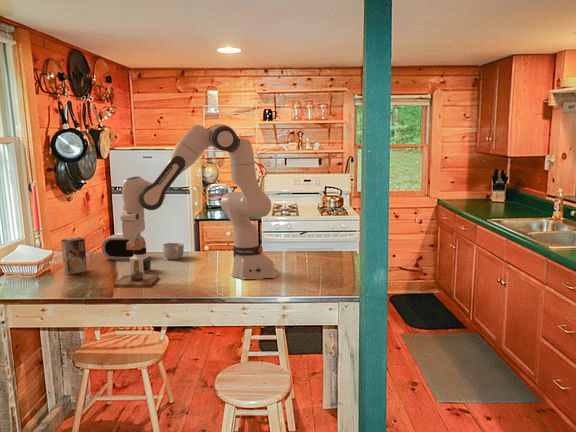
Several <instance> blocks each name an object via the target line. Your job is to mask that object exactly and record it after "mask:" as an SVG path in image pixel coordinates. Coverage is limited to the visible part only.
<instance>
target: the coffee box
mask: <svg viewBox="0 0 576 432" xmlns="http://www.w3.org/2000/svg"><path fill="white" fill-rule="evenodd" d="M61 250H62V251H61V252H62V262H63V263H62V264H63V272H64V273H65V274H67V275H73V274H78V273H79V274H80V273H85V272H88V267H87V255H86V243H85V238H83V237H79V236H78V237H71V238H64V239H61Z"/></svg>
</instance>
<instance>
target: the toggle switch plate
mask: <svg viewBox="0 0 576 432" xmlns="http://www.w3.org/2000/svg"><path fill="white" fill-rule="evenodd" d="M133 267H134V272H130V274H127V275H126V274H125V275H123V276H121V278H119V279H118V280H117V281H116V282H114V283H113V287H114V288H151V287H152V286H154V284H155V283H156V282H157V281H158V280H159V278H160V275H155V274H154V275H153V274H152V275H149V274H148V275H143V274H144V273H143V272H139V260H133Z"/></svg>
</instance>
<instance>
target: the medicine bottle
mask: <svg viewBox="0 0 576 432" xmlns="http://www.w3.org/2000/svg"><path fill="white" fill-rule="evenodd" d="M133 255H134V256H133V257H131V258H130V260H129V265H130V266H129V268H130V269H129V270H130V271H129V272H130V273H132V272H134V267H133V260H139V272H143V274H145V273H146V272H148V271H150V270H151V269H152V268H151V267H152V265H151V255H147V246H146V247H143V248H142V249H140V250H133Z"/></svg>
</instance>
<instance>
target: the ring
mask: <svg viewBox="0 0 576 432" xmlns="http://www.w3.org/2000/svg"><path fill="white" fill-rule="evenodd" d="M134 242H135V246H134V247H131V246H130V242H127V243H126V248H127V250H140V249H142V248H143V247H144V244H143V240H134Z"/></svg>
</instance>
